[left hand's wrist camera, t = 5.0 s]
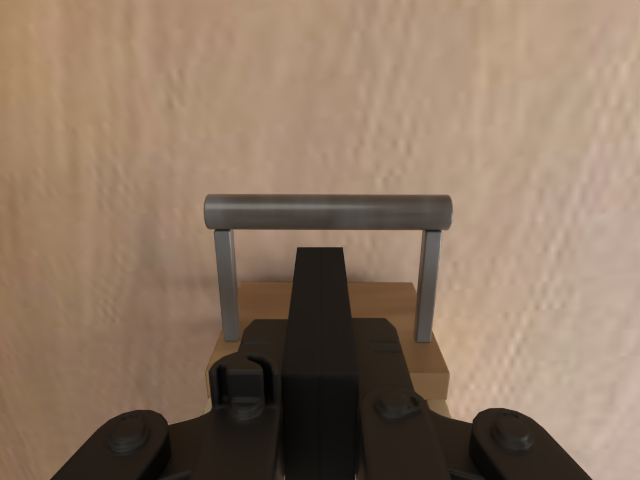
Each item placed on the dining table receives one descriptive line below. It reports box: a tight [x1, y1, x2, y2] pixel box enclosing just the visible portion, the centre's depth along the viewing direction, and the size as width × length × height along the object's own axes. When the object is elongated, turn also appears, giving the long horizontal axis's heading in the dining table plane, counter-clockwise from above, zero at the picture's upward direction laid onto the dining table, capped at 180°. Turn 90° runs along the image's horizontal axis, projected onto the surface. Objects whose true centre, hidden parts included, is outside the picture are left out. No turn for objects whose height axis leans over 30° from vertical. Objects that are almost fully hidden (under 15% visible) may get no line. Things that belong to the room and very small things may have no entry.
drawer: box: [204, 194, 453, 400], centre depth 21 cm, size 22×9×7 cm, turn 0°
